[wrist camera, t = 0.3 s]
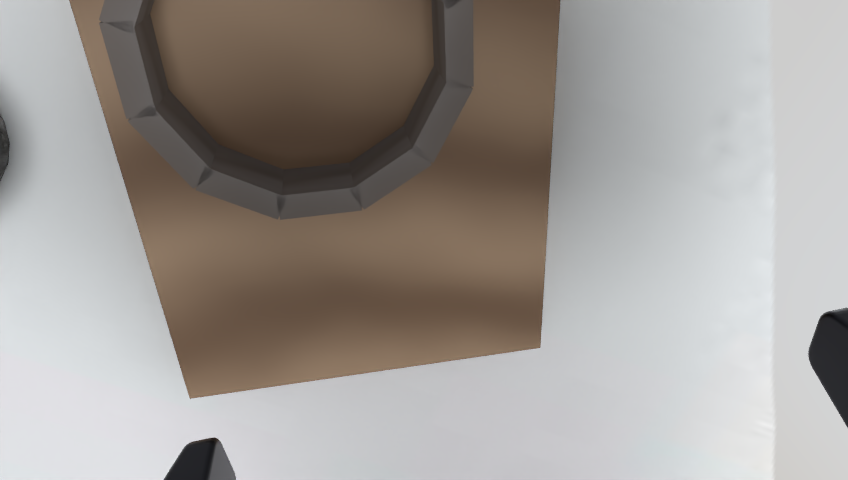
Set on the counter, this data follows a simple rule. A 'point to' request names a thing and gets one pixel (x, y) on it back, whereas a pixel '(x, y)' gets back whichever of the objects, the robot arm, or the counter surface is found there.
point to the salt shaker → (3, 148)
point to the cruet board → (333, 177)
